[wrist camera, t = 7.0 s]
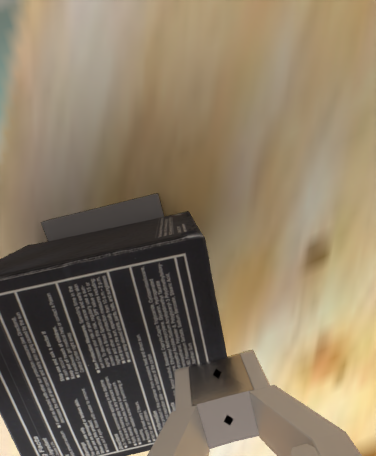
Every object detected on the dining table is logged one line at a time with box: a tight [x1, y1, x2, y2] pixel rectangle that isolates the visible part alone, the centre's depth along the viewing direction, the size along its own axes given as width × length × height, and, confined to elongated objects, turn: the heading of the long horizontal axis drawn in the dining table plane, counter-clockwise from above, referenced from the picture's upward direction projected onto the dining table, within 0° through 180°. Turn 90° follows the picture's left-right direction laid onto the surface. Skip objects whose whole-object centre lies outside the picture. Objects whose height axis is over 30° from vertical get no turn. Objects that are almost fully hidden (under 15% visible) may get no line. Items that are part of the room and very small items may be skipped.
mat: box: [41, 193, 164, 241], centre depth 17 cm, size 8×13×1 cm, turn 13°
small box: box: [0, 211, 227, 456], centre depth 13 cm, size 11×6×10 cm
